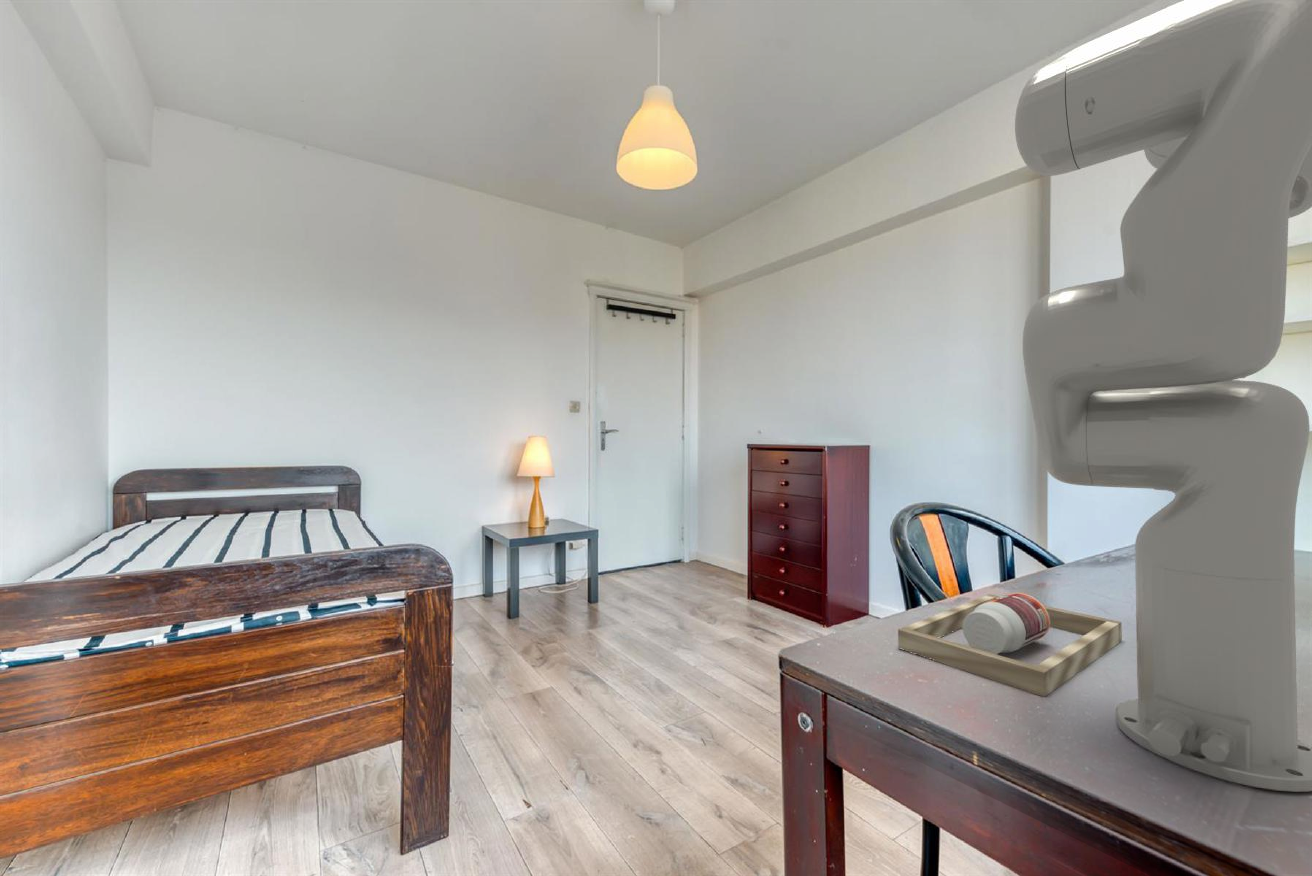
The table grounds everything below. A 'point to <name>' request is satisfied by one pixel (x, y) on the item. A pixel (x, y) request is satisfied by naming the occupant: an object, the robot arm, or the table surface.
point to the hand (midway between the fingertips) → (1212, 434)
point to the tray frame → (1005, 670)
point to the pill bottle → (1006, 623)
